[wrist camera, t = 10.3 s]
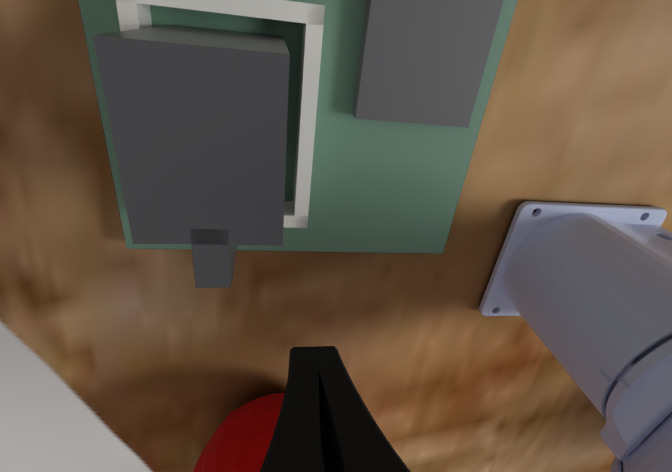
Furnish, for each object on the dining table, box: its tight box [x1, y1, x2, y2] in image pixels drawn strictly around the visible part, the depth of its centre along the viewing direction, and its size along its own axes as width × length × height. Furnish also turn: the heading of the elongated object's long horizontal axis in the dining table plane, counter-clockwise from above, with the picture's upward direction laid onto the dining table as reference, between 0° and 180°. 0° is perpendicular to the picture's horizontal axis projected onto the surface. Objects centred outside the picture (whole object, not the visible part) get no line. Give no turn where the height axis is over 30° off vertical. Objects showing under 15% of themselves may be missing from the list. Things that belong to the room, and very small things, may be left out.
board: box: [78, 0, 517, 254], centre depth 16 cm, size 16×14×2 cm
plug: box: [93, 24, 290, 288], centre depth 13 cm, size 4×6×7 cm, turn 174°
